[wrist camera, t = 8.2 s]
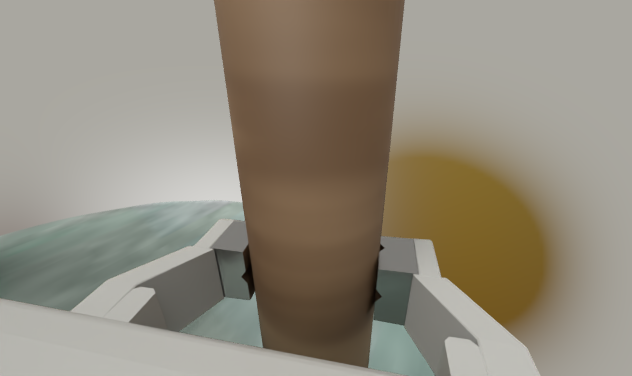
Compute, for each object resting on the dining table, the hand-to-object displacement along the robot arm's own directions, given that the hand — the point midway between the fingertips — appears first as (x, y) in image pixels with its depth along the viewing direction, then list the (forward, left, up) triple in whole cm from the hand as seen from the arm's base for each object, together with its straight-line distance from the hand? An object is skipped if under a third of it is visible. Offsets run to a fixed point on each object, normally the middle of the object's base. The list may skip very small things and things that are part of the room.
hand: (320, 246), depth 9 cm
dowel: (+1, 0, -9) cm, 9 cm away
